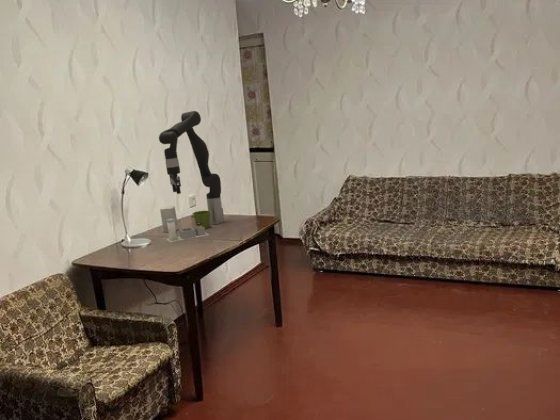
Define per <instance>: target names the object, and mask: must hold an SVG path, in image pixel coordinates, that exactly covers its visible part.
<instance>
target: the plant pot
mask: <svg viewBox="0 0 560 420" xmlns="http://www.w3.org/2000/svg"><path fill="white" fill-rule="evenodd" d="M210 213H211V211H208V210H198V211H194V212H192V216H193V218H194V221H195V222H194V223H195V224H196V223H198V222H203V224H202V227H205V229H207V228H208V229H209V228H210Z"/></svg>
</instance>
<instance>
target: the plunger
mask: <svg viewBox="0 0 560 420" xmlns="http://www.w3.org/2000/svg"><path fill="white" fill-rule="evenodd" d="M202 224H203V222H198V223H196V222H195V226H196V228H197V229H201V228H202Z"/></svg>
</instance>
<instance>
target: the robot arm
mask: <svg viewBox="0 0 560 420" xmlns="http://www.w3.org/2000/svg"><path fill="white" fill-rule="evenodd" d="M180 116H181V117H180V120H181V121H180V122H177V123H176V124H174V125H173V126H172V127H170V128H168V129H165V130H163V131H162V132H160V134H159V135H158V141H159V142H160V143H161V145H169V147H167V148H165V149H164V150H163V151H164V158H165V166H166V172H167V173H166V174H167V175H168V176H169V181H170V185H171V187H172V192H173V193H176V194H177V195H181V194H182V192H181V187H182V184H181V179H180V175H179V176H178V174H180V173H181V167H180V162H179V158H178V152H177V148H178V139H179V138H180V137H181V136H182V135H183V134H185V133H186V134H187V137H188V140H189V142H190V146H191V149H192V152H193V155H194V158H195V160H196V163H197V166H198V170H199V173H200V174H199V175H200V178H201V181H202V184H203V186H204V187H207V188H209V192H207V193H206V197H205V198H206V205H207V211H211V213H210V223H209V225H219V224H222V223H225V217H224V216H225V214H224V208H223V206H222V198H221V196H222V195H221V194H222V182H221V178H220V176H219V174H217V173H211V172H212V171H211V170H210V167H209V159H210V153H209V149H208V145H207V143H206V142H205V141H204V140H203V139H202V138H201V137H200V136H199V135H198V134H197V133H196V131H195V129H194V127H196V126H198V125H200V123H201V121H202V118H201V115H200V113H199V112H198V111H195V110H191V111H187V112H183V113H182V114H180Z"/></svg>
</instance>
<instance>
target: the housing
mask: <svg viewBox="0 0 560 420" xmlns="http://www.w3.org/2000/svg"><path fill="white" fill-rule="evenodd" d="M178 233H179V236H177V239H176V240H169V237H168V238H166V239H165V240H166V241H167V242H168V243H173V242H179V241H184V240H185V241H186V240H190V239H194V238H200V237H206V236H210V234H209V233H208V232H206V228H205V227H202V228H201V229H197V227H195V228H193V227H186V228H180V229H179V228H178Z"/></svg>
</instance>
